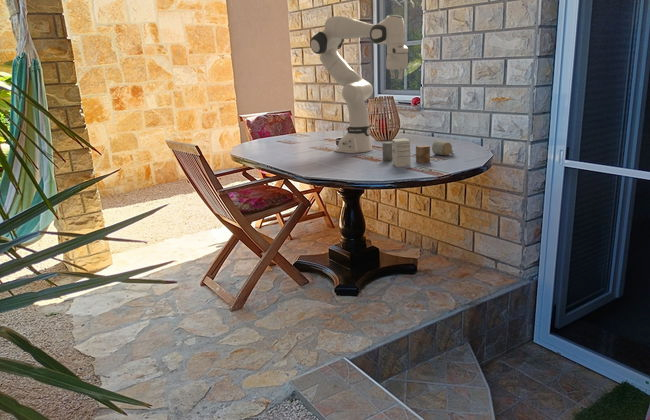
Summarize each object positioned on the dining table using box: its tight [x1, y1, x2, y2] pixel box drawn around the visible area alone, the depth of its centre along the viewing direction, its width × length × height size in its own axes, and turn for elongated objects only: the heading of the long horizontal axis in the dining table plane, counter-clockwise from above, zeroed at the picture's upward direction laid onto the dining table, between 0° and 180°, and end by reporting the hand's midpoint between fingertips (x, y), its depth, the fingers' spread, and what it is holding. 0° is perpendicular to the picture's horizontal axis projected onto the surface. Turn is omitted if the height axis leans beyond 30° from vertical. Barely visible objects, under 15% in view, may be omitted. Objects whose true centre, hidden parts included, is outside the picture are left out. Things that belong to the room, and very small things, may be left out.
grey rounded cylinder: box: [382, 141, 393, 162], centre depth 259 cm, size 5×5×9 cm
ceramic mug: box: [431, 139, 454, 157], centre depth 264 cm, size 11×8×8 cm
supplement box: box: [391, 137, 411, 168], centre depth 245 cm, size 7×7×13 cm
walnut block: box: [415, 144, 431, 164], centre depth 249 cm, size 5×5×8 cm
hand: (396, 78), depth 250 cm, fingers open, 8 cm apart
